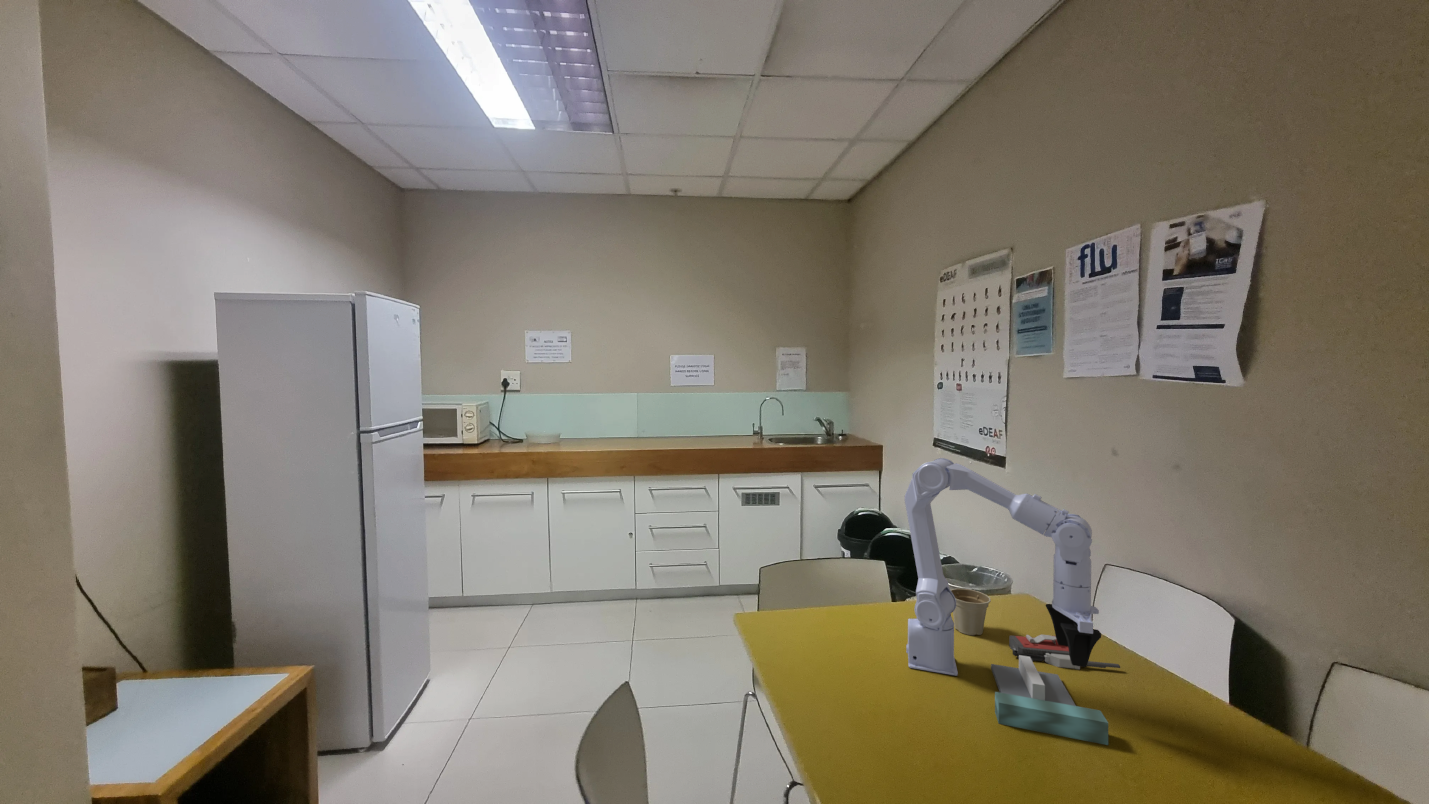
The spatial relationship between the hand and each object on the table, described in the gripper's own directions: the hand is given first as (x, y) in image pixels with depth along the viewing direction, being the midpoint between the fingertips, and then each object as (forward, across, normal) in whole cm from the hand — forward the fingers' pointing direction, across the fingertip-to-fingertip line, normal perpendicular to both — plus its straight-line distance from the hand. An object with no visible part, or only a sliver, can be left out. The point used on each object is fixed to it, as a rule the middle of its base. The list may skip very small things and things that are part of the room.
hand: (1071, 654), depth 93 cm
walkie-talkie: (+10, +20, -4) cm, 22 cm away
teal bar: (+10, -8, +6) cm, 14 cm away
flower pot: (+10, +28, +13) cm, 32 cm away
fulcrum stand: (+10, +4, +6) cm, 12 cm away
